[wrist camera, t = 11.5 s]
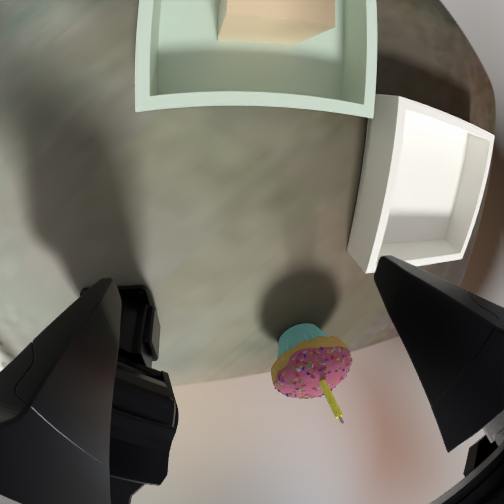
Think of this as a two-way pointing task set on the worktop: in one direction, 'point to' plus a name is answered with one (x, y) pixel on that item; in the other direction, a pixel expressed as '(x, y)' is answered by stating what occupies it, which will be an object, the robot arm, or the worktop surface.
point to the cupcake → (310, 364)
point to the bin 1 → (253, 62)
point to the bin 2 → (418, 184)
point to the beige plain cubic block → (274, 20)
